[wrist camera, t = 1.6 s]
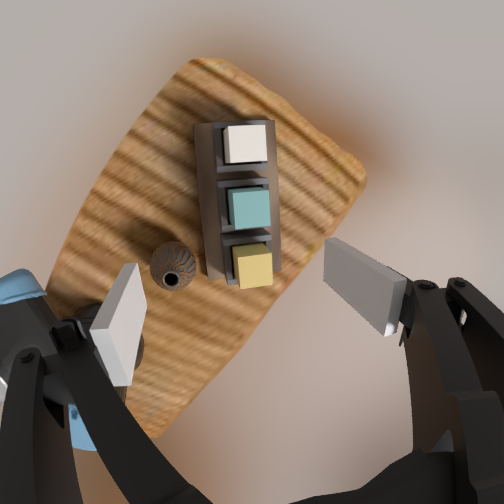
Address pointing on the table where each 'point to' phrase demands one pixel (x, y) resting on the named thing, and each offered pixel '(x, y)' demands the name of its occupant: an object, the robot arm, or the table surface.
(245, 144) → the plunger cream
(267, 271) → the plunger ochre
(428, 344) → the robot arm
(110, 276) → the table surface
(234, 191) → the plunger teal
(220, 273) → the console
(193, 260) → the vase
